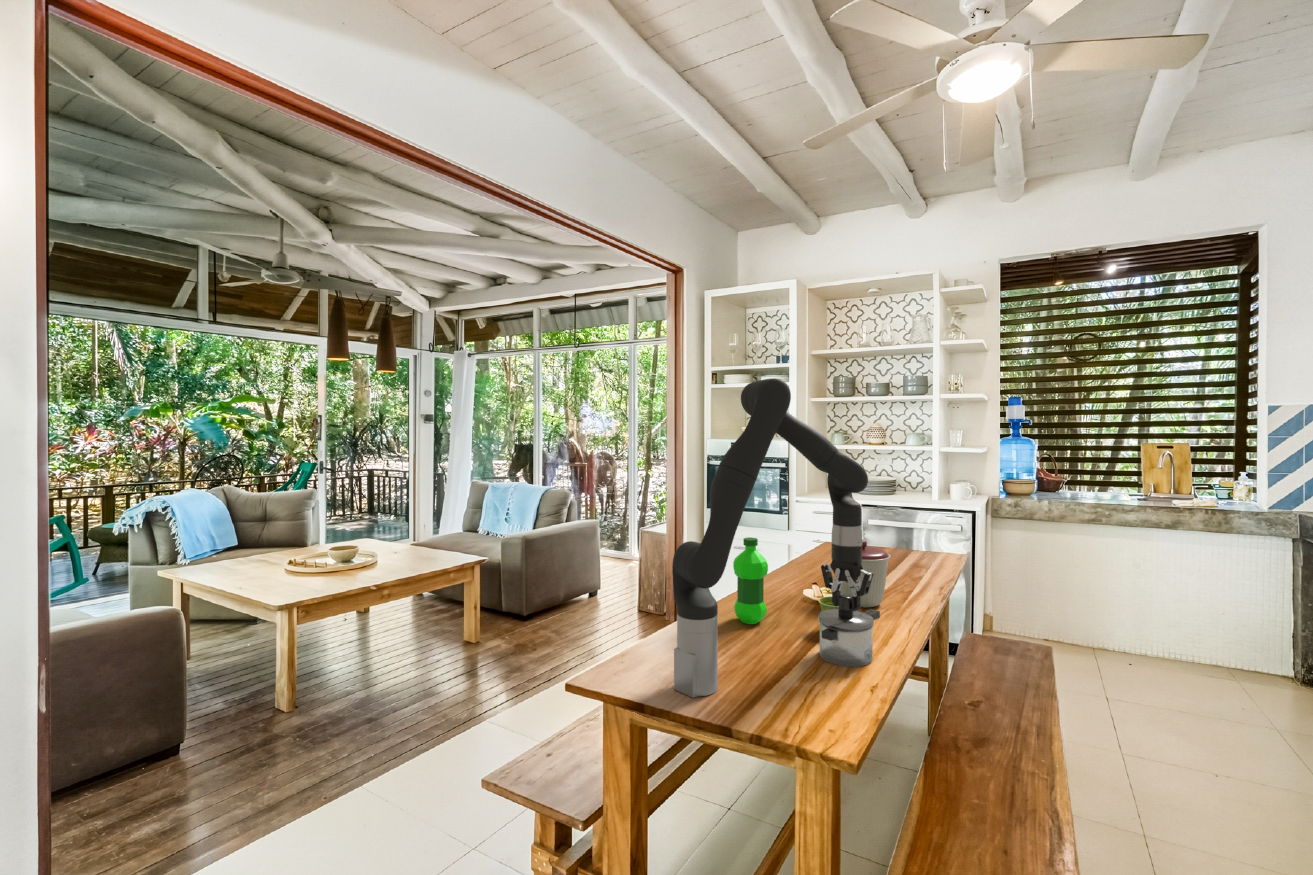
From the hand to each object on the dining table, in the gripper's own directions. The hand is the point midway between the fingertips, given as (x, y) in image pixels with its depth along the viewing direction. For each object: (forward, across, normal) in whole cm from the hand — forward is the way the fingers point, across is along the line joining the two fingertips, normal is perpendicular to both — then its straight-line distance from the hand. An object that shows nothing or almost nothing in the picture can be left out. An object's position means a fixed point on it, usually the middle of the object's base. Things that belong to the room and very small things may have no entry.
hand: (846, 607), depth 161 cm
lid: (+4, 0, 0) cm, 4 cm away
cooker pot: (+13, 0, +3) cm, 13 cm away
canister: (+13, -20, +44) cm, 50 cm away
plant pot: (+13, -12, +15) cm, 23 cm away
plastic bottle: (+13, -34, +4) cm, 37 cm away
